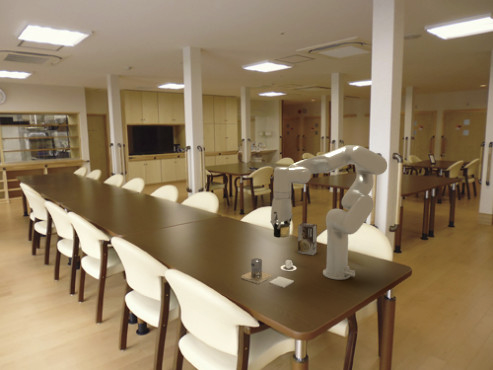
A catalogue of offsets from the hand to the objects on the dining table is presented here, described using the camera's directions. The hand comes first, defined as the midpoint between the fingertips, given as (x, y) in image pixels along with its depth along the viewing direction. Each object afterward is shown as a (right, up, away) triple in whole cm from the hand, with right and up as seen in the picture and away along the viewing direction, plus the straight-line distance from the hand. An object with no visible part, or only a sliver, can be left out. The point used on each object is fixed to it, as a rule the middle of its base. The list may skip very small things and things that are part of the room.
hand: (281, 235), depth 155 cm
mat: (0, -22, +3) cm, 22 cm away
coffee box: (+19, -16, +43) cm, 50 cm away
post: (-11, -21, +8) cm, 25 cm away
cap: (0, 0, 0) cm, 0 cm away
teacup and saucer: (+8, -20, +22) cm, 31 cm away
